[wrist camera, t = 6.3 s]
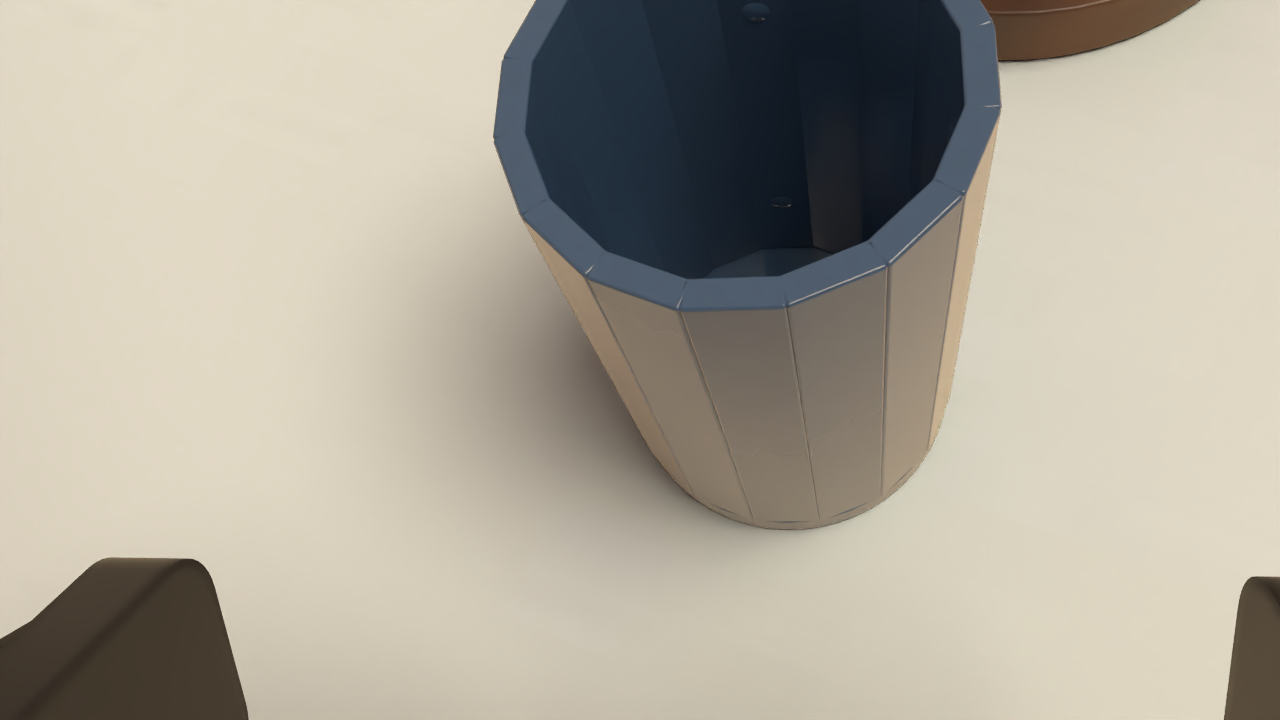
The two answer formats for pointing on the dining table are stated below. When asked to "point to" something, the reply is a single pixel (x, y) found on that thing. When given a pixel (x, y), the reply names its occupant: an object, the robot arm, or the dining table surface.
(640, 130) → the mug
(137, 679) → the robot arm
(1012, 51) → the mug tree
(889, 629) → the dining table surface
